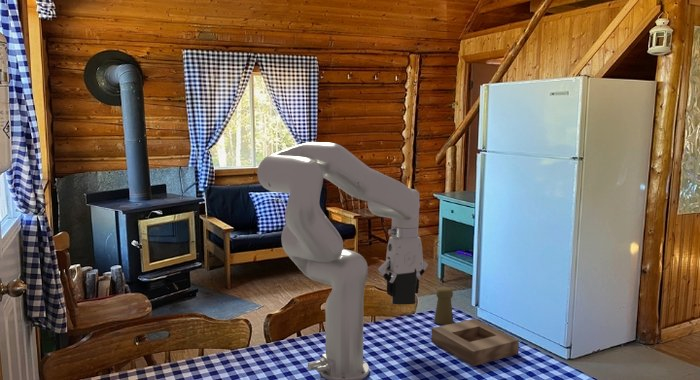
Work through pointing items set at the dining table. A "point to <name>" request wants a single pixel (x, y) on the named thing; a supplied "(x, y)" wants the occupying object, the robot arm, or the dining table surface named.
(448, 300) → the cork
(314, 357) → the dining table surface
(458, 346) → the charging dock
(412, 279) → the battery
